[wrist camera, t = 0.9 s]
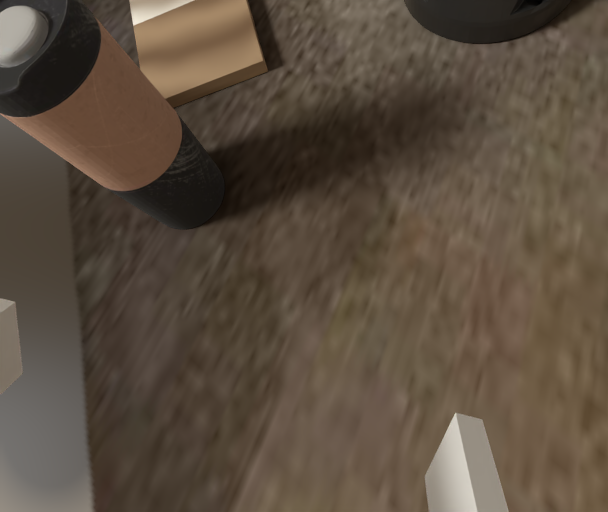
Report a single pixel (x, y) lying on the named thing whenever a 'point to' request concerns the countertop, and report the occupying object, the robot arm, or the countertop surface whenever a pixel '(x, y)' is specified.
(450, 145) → the countertop surface
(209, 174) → the travel mug
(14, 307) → the robot arm
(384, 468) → the countertop surface
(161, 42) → the wooden cutting board
